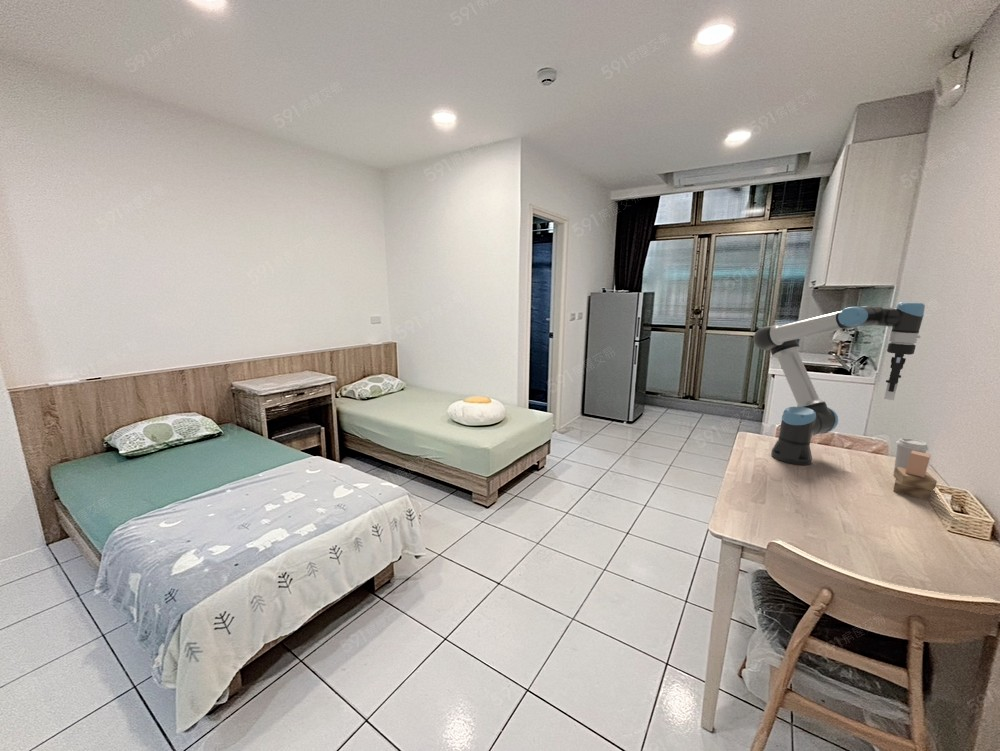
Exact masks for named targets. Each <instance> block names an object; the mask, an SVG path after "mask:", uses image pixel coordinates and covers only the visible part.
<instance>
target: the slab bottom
mask: <svg viewBox="0 0 1000 751" xmlns="http://www.w3.org/2000/svg"><path fill="white" fill-rule="evenodd" d="M892 491H893V492H895V493H899V494H903V495H905V496H908V497H909V496H910V497H913V498H917V499H920V500H923V501H928V502H929V500H930V497H931V494H932V491H930V490H925V489H919V488H914V487H909V486H903V485H901V484H900V483H899V482H898V481H897V479H896V478H895V480H894V485H893V490H892Z"/></svg>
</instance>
